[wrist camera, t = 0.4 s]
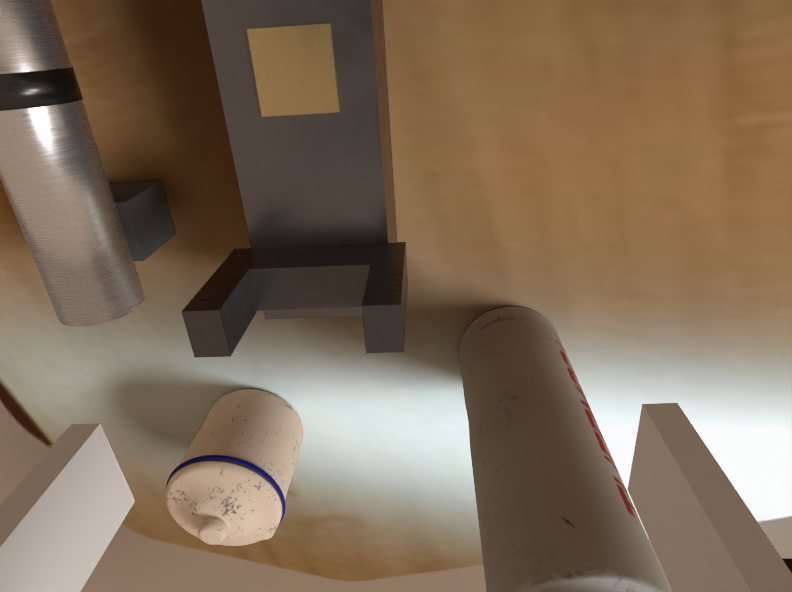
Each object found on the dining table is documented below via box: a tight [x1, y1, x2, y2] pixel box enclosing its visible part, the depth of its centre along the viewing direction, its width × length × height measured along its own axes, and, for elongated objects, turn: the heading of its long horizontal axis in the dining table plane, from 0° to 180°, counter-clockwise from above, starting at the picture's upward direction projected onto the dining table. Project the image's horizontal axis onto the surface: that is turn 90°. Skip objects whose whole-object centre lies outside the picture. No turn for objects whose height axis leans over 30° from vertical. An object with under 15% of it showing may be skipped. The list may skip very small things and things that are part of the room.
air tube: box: [0, 0, 145, 326], centre depth 27 cm, size 26×5×5 cm, turn 3°
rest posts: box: [109, 181, 176, 261], centre depth 31 cm, size 22×4×5 cm, turn 3°
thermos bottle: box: [460, 306, 671, 592], centre depth 30 cm, size 8×8×28 cm
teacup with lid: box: [166, 389, 303, 546], centre depth 42 cm, size 12×9×12 cm
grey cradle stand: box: [182, 0, 408, 357], centre depth 26 cm, size 28×10×16 cm, turn 3°
